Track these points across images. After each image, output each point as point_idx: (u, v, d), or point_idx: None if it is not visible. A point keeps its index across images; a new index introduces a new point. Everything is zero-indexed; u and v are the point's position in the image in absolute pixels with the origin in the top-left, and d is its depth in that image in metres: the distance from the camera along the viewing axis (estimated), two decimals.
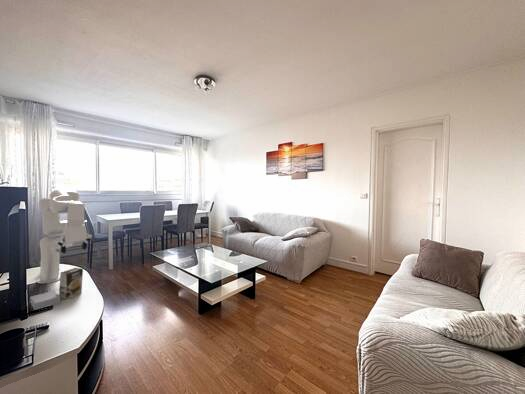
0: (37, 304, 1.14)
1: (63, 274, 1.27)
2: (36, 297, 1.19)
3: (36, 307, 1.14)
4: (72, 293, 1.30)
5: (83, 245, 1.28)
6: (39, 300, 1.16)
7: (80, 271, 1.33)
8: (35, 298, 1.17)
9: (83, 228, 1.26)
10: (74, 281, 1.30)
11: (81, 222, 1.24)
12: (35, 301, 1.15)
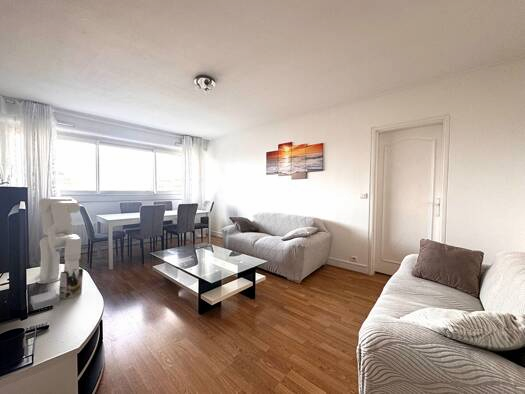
0: (36, 304, 1.14)
1: (63, 274, 1.27)
2: (36, 297, 1.19)
3: (35, 307, 1.14)
4: (72, 293, 1.30)
5: None
6: (39, 300, 1.16)
7: (80, 271, 1.33)
8: (35, 298, 1.17)
9: None
10: None
11: None
12: (35, 301, 1.15)
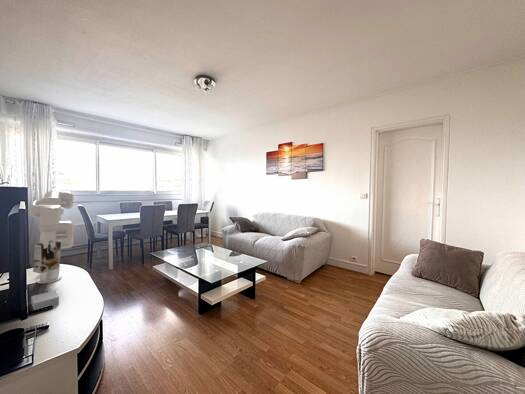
0: (36, 304, 1.14)
1: (38, 246, 1.15)
2: (36, 297, 1.19)
3: (35, 307, 1.14)
4: (48, 267, 1.18)
5: None
6: (38, 300, 1.16)
7: (58, 244, 1.22)
8: (35, 298, 1.17)
9: None
10: None
11: None
12: (34, 301, 1.15)
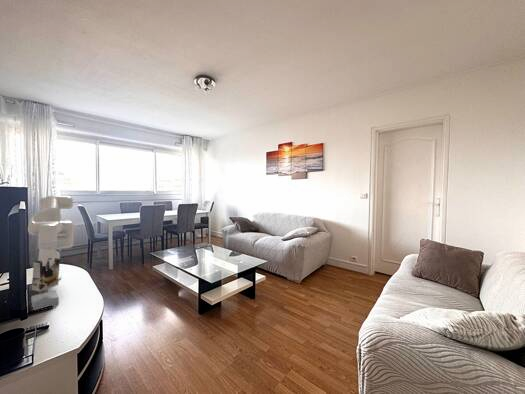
0: (35, 304, 1.14)
1: (36, 264, 1.16)
2: (36, 297, 1.19)
3: (34, 307, 1.14)
4: (46, 285, 1.18)
5: None
6: (38, 300, 1.16)
7: (56, 261, 1.22)
8: (35, 298, 1.17)
9: None
10: None
11: None
12: (34, 301, 1.15)
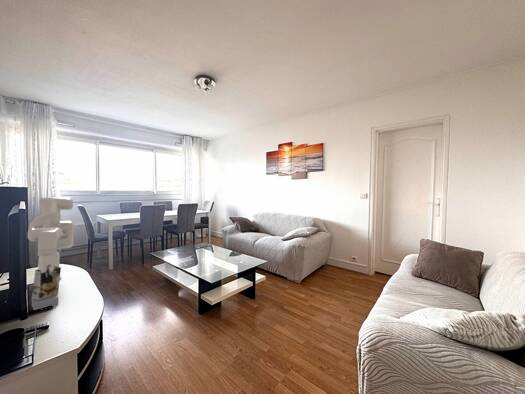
0: (35, 304, 1.14)
1: (37, 272, 1.17)
2: None
3: (34, 307, 1.13)
4: (46, 294, 1.18)
5: None
6: (37, 301, 1.16)
7: (57, 270, 1.23)
8: None
9: None
10: None
11: None
12: (34, 301, 1.15)
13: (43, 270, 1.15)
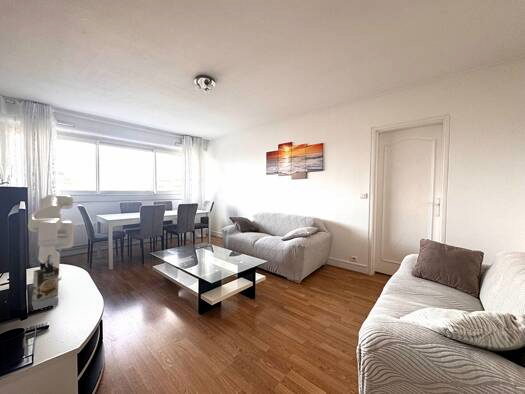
0: (35, 304, 1.14)
1: (35, 273, 1.16)
2: None
3: (34, 307, 1.14)
4: (45, 295, 1.18)
5: (44, 264, 1.23)
6: (38, 301, 1.16)
7: (55, 270, 1.21)
8: None
9: None
10: (47, 282, 1.18)
11: None
12: (34, 301, 1.15)
13: (43, 260, 1.15)
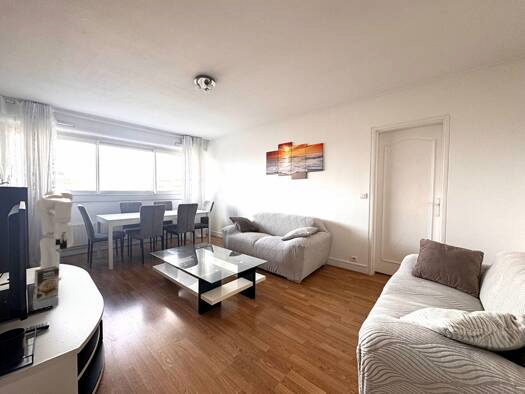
0: (35, 304, 1.14)
1: (36, 272, 1.17)
2: None
3: (34, 307, 1.14)
4: (44, 294, 1.18)
5: (59, 241, 1.32)
6: (38, 300, 1.16)
7: (55, 270, 1.21)
8: None
9: None
10: (47, 282, 1.18)
11: None
12: (34, 301, 1.15)
13: (58, 236, 1.25)
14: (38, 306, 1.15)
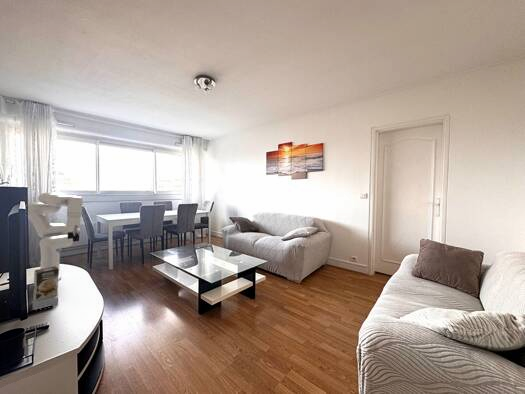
0: (35, 304, 1.14)
1: (35, 272, 1.17)
2: None
3: (34, 307, 1.14)
4: (44, 295, 1.18)
5: (71, 235, 1.42)
6: (38, 300, 1.16)
7: (54, 271, 1.21)
8: None
9: None
10: (46, 282, 1.18)
11: None
12: (34, 301, 1.15)
13: (72, 229, 1.34)
14: (38, 306, 1.15)
